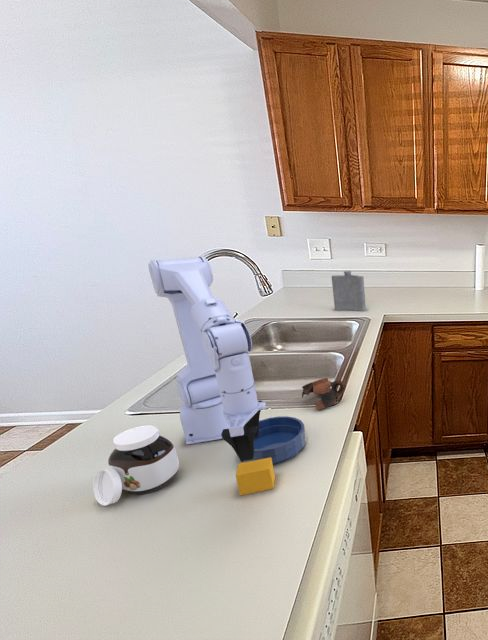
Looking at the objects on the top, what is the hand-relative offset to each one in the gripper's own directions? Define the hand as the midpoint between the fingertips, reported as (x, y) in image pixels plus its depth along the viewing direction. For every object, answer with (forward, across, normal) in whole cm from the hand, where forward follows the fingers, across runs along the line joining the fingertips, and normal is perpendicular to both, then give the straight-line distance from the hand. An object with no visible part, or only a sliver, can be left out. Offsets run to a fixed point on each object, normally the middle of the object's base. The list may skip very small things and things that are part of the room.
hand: (250, 447), depth 79 cm
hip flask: (+10, +131, -29) cm, 135 cm away
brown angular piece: (+10, +33, -14) cm, 37 cm away
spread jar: (+10, +7, +22) cm, 25 cm away
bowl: (+9, +13, -2) cm, 16 cm away
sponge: (+9, 0, 0) cm, 9 cm away
